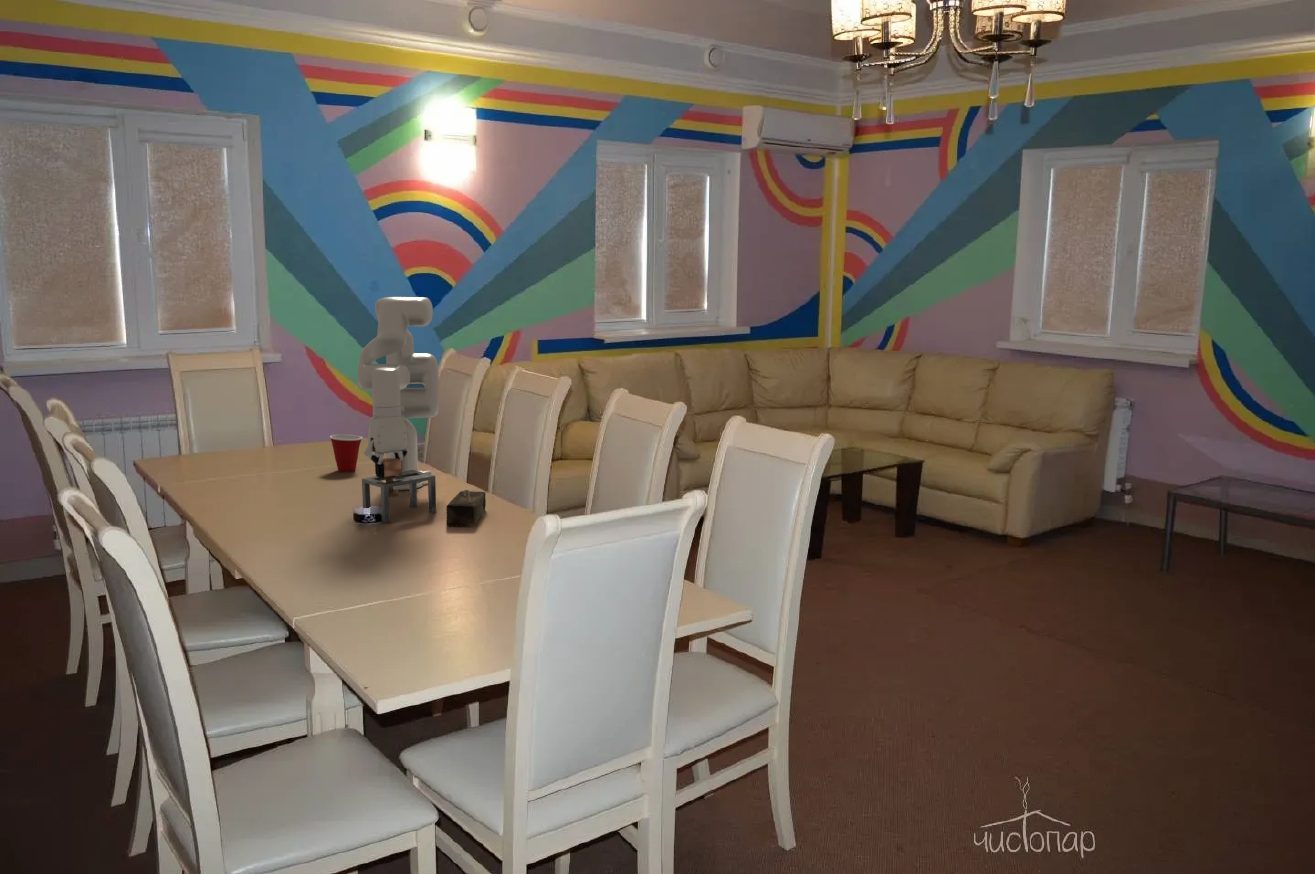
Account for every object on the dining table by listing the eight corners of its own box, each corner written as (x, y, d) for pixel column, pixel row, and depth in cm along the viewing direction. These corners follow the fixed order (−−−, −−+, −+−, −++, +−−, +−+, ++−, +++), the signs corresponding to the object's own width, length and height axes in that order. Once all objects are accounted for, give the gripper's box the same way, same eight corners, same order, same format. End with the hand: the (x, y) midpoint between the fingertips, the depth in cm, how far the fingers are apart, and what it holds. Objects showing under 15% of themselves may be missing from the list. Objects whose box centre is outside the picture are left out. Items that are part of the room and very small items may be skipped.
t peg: (392, 492, 290) (391, 457, 288) (402, 495, 286) (401, 460, 284) (377, 495, 286) (375, 459, 284) (387, 498, 283) (385, 462, 281)
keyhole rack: (414, 506, 299) (413, 469, 297) (436, 512, 292) (435, 475, 290) (363, 516, 287) (361, 478, 285) (384, 523, 280) (383, 484, 278)
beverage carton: (487, 510, 296) (486, 488, 295) (474, 528, 277) (474, 505, 276) (459, 510, 296) (459, 488, 295) (445, 528, 277) (445, 504, 276)
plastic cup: (368, 471, 346) (367, 436, 344) (337, 474, 339) (336, 439, 337) (356, 465, 354) (355, 431, 352) (326, 469, 348) (324, 434, 345)
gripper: (405, 407, 290) (407, 469, 294) (352, 413, 278) (354, 478, 281) (420, 410, 286) (422, 473, 289) (367, 416, 273) (369, 482, 276)
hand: (389, 475), depth 285 cm, fingers closed on t peg, 5 cm apart
